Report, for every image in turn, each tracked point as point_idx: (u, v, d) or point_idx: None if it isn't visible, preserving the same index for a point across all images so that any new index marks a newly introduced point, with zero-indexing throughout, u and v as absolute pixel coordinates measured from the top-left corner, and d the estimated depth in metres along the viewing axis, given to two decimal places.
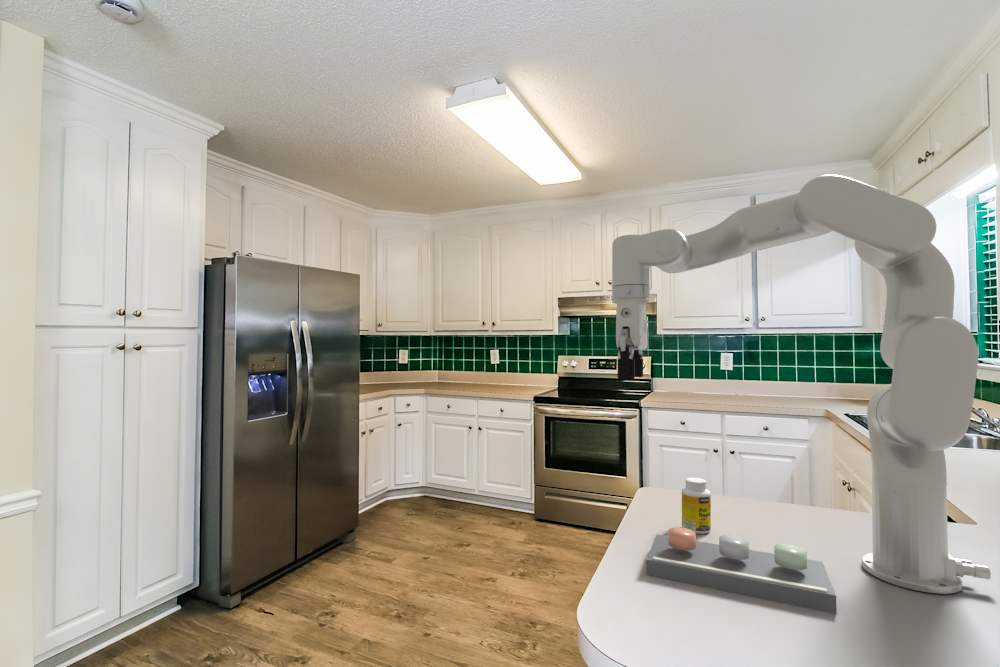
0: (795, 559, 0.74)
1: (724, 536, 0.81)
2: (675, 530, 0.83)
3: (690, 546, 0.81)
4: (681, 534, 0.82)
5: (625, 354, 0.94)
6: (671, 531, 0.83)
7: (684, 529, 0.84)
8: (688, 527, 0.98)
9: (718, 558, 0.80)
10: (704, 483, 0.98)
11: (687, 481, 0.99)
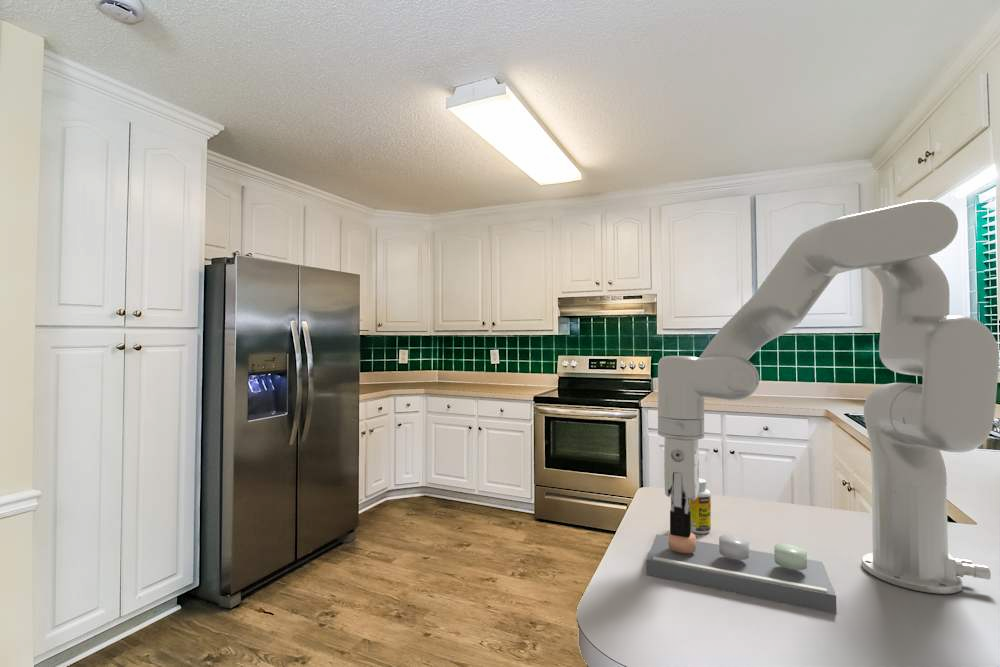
0: (795, 559, 0.74)
1: (724, 536, 0.81)
2: None
3: (690, 549, 0.81)
4: None
5: (680, 510, 0.81)
6: None
7: None
8: None
9: (718, 558, 0.80)
10: (704, 483, 0.98)
11: None
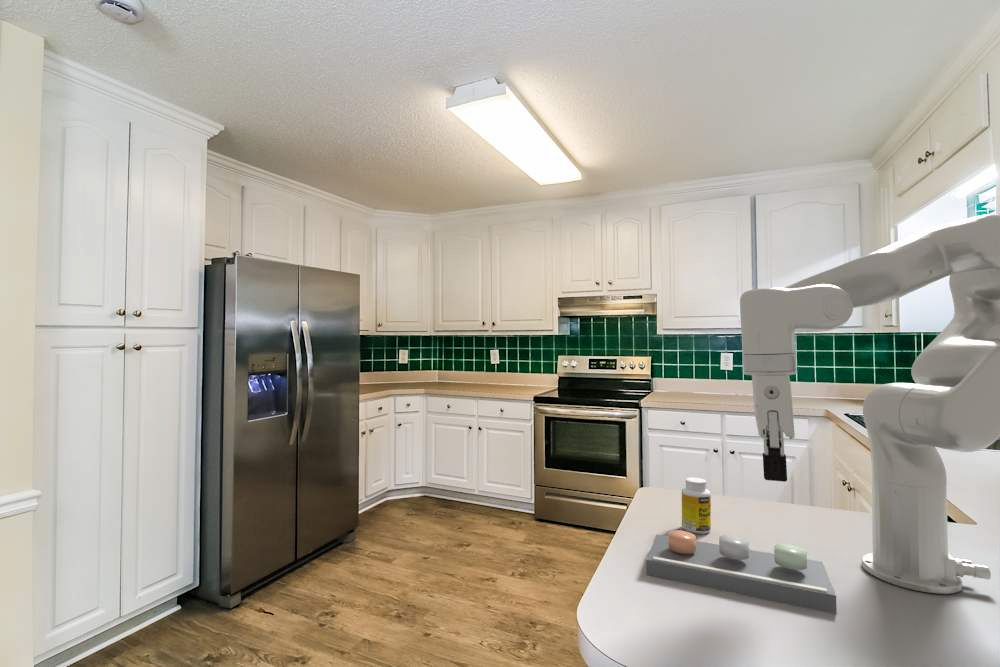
0: (795, 559, 0.74)
1: (724, 536, 0.81)
2: (675, 533, 0.83)
3: (690, 549, 0.81)
4: (681, 537, 0.82)
5: (776, 451, 0.75)
6: (671, 534, 0.83)
7: (684, 532, 0.84)
8: (688, 527, 0.98)
9: (718, 558, 0.80)
10: (704, 483, 0.98)
11: (687, 481, 0.99)
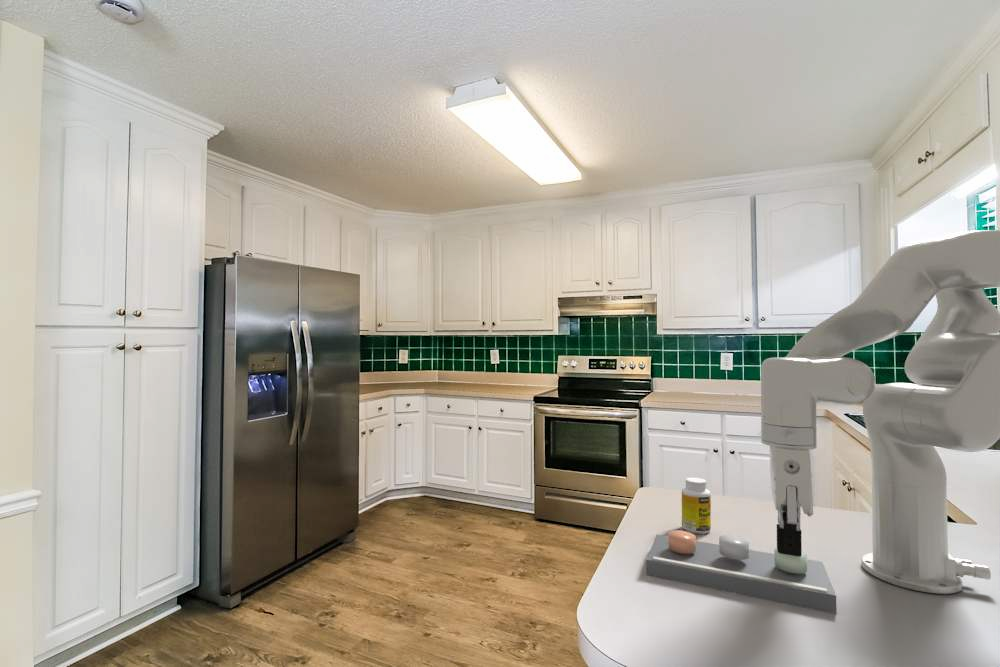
0: (795, 563, 0.74)
1: (724, 536, 0.81)
2: (675, 533, 0.83)
3: (690, 549, 0.81)
4: (681, 537, 0.82)
5: (792, 526, 0.74)
6: (671, 534, 0.83)
7: (684, 532, 0.84)
8: (688, 527, 0.98)
9: (718, 558, 0.80)
10: (704, 483, 0.98)
11: (687, 481, 0.99)
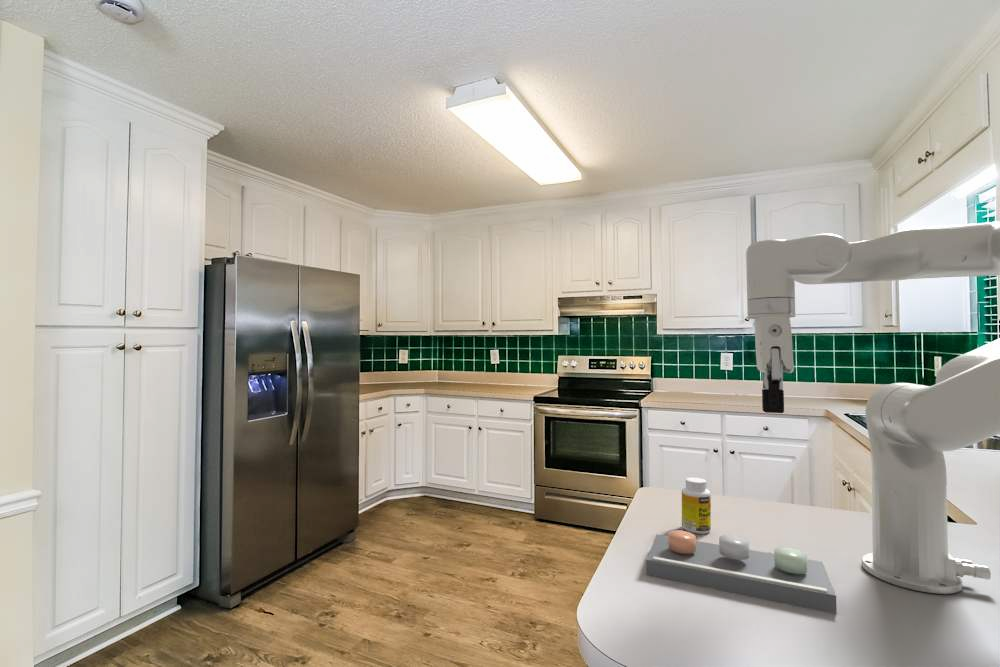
0: (795, 563, 0.74)
1: (724, 536, 0.81)
2: (675, 533, 0.83)
3: (690, 549, 0.81)
4: (681, 537, 0.82)
5: (776, 385, 0.84)
6: (671, 534, 0.83)
7: (684, 532, 0.84)
8: (688, 527, 0.98)
9: (718, 558, 0.80)
10: (704, 483, 0.98)
11: (687, 481, 0.99)
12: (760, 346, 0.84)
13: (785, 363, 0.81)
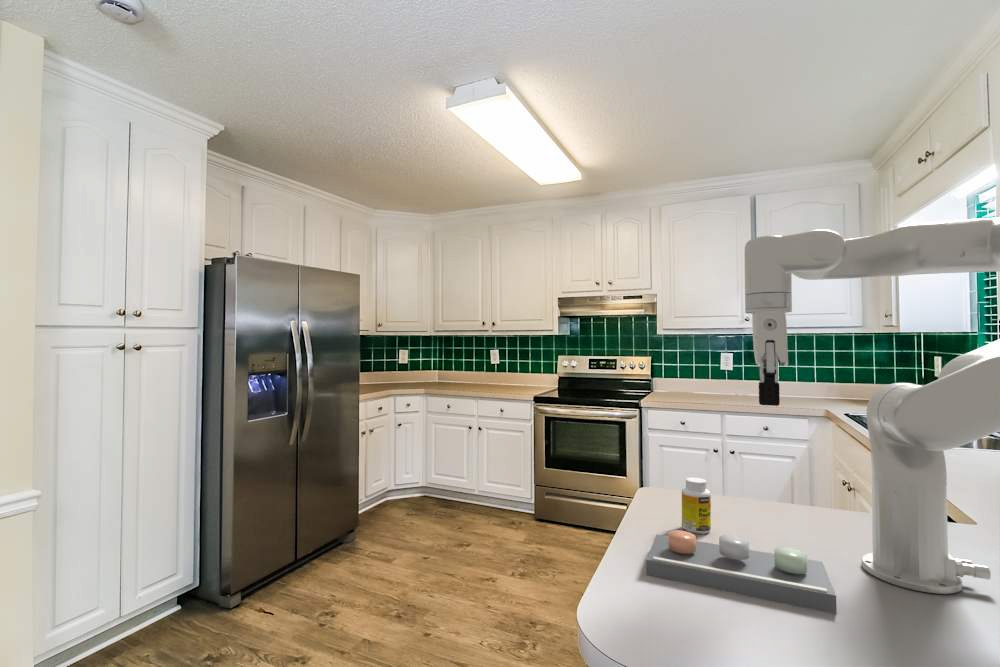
0: (795, 563, 0.74)
1: (724, 536, 0.81)
2: (675, 533, 0.83)
3: (690, 549, 0.81)
4: (681, 537, 0.82)
5: (771, 378, 0.86)
6: (671, 534, 0.83)
7: (684, 532, 0.84)
8: (688, 527, 0.98)
9: (718, 558, 0.80)
10: (704, 483, 0.98)
11: (687, 481, 0.99)
12: (755, 340, 0.86)
13: (779, 356, 0.83)
